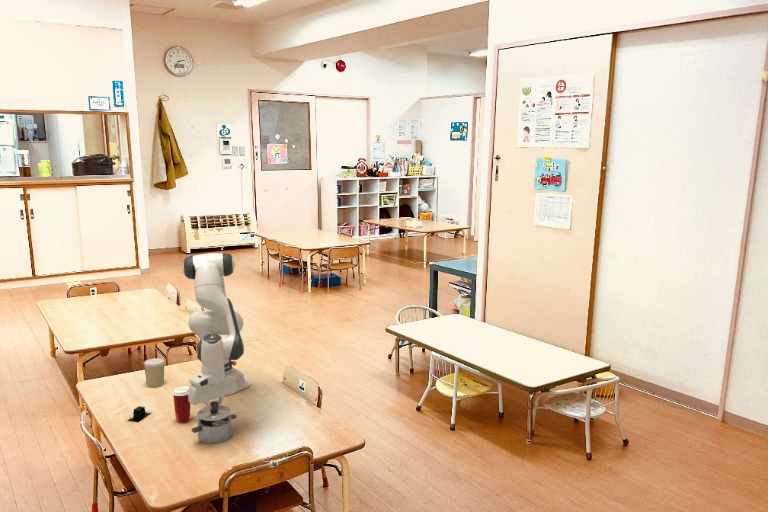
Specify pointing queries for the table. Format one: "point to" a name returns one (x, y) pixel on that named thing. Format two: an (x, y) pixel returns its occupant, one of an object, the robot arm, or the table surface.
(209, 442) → the pot
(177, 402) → the paper cup
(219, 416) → the lid
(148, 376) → the coffee cup
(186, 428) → the table surface
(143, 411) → the black stepped block
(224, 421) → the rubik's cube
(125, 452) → the table surface
